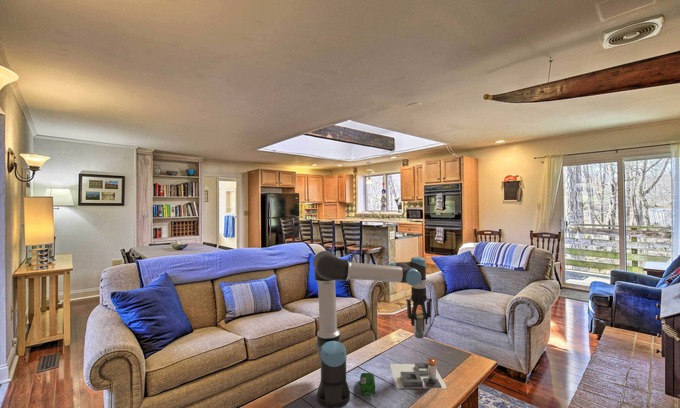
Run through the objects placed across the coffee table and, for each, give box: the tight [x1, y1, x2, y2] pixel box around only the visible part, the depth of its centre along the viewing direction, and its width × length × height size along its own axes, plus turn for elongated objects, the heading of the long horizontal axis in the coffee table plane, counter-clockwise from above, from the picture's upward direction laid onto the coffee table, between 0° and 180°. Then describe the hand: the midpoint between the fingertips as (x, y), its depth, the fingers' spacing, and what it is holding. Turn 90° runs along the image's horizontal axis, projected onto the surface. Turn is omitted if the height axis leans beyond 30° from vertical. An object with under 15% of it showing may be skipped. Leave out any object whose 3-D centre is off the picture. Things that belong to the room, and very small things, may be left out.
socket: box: [414, 362, 428, 375], centre depth 164 cm, size 8×8×2 cm
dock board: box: [389, 363, 448, 389], centre depth 160 cm, size 24×22×1 cm
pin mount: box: [400, 372, 424, 389], centre depth 154 cm, size 9×9×3 cm
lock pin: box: [427, 357, 437, 385], centre depth 153 cm, size 4×4×11 cm
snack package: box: [359, 372, 376, 396], centre depth 149 cm, size 7×16×5 cm, turn 176°
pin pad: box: [423, 378, 443, 389], centre depth 153 cm, size 7×7×1 cm
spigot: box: [414, 311, 425, 339], centre depth 164 cm, size 5×5×12 cm
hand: (419, 331), depth 164 cm, fingers closed on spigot, 5 cm apart
